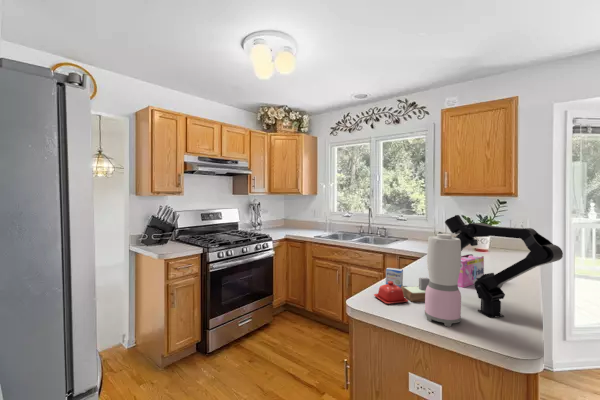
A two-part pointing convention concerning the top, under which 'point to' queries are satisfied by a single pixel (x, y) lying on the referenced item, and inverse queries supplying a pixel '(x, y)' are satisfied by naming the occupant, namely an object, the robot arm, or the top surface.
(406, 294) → the walnut box
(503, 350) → the top surface
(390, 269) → the medicine box
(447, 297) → the blender
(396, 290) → the butter dish
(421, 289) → the lid
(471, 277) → the gum box
